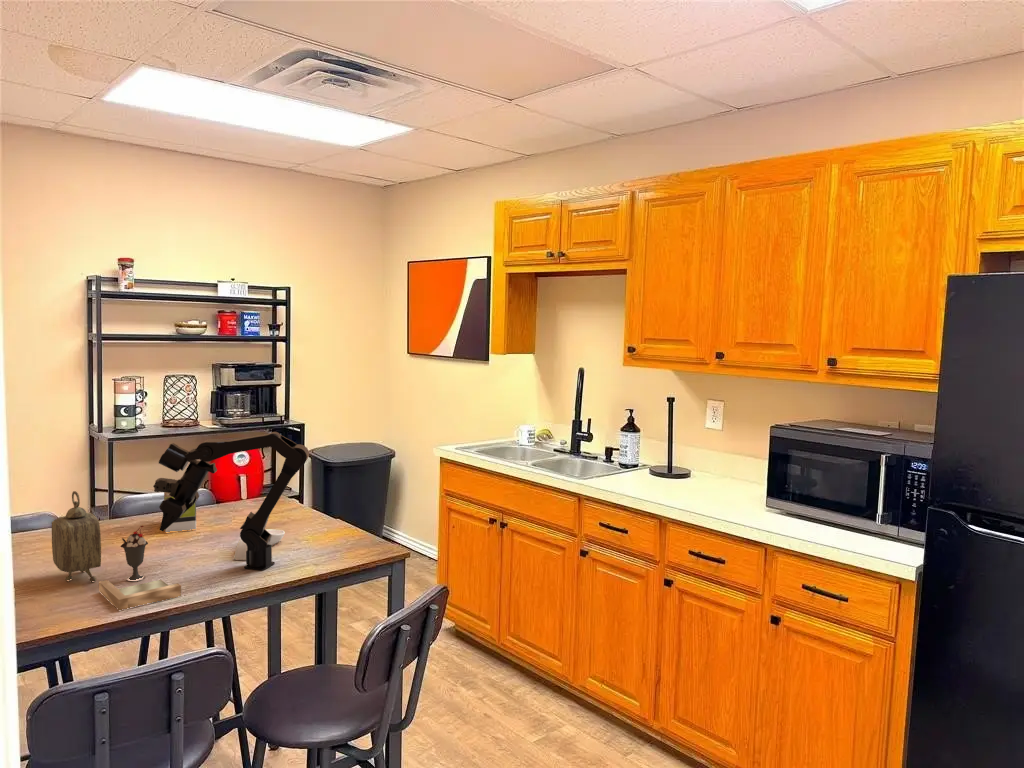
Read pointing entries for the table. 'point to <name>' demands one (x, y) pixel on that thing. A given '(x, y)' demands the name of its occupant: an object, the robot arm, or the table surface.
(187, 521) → the tea box
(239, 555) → the spoon rest
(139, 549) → the sundae
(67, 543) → the tabletop clock
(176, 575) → the table surface
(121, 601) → the corner tray
